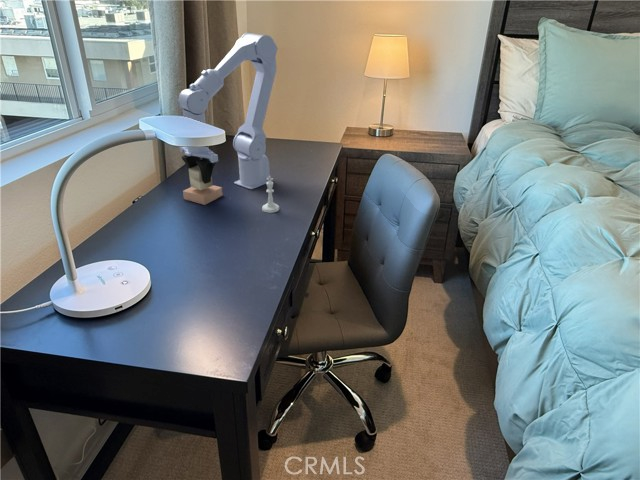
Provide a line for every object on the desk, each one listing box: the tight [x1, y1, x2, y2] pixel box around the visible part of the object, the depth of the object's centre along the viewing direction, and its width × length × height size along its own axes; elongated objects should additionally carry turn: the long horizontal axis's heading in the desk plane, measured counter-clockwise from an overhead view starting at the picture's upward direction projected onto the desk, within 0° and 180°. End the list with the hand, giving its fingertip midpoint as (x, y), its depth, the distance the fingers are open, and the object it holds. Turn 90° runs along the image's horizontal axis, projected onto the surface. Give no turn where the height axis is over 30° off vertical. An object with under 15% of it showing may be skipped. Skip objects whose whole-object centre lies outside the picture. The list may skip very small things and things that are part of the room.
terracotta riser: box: [182, 185, 223, 206], centre depth 133 cm, size 8×8×3 cm
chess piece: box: [261, 175, 280, 214], centre depth 125 cm, size 5×5×10 cm
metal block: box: [187, 166, 213, 190], centre depth 130 cm, size 4×4×6 cm
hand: (201, 180), depth 131 cm, fingers closed on metal block, 4 cm apart
